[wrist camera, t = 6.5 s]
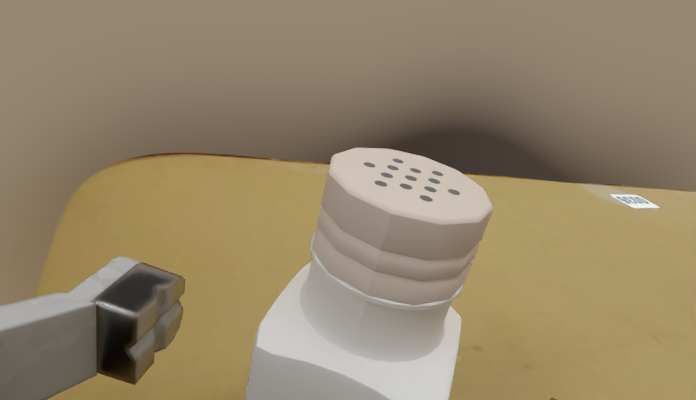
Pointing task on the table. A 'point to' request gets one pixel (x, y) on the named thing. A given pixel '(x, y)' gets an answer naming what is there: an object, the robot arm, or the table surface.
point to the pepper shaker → (375, 285)
